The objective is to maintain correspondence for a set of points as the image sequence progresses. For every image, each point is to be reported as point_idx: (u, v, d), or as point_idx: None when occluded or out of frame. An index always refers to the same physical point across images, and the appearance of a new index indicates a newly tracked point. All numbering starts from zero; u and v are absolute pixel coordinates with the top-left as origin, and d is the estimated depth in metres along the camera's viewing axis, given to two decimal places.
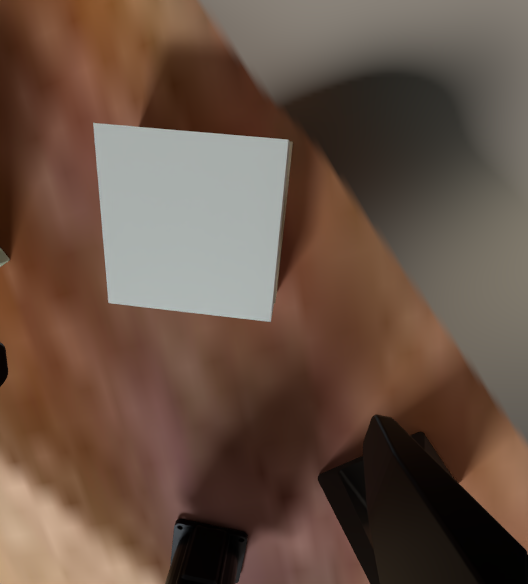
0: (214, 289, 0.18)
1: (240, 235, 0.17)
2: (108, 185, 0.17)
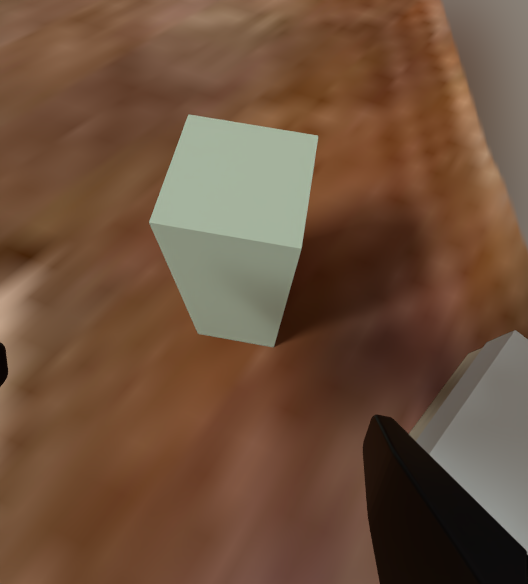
0: None
1: None
2: (499, 371, 0.18)
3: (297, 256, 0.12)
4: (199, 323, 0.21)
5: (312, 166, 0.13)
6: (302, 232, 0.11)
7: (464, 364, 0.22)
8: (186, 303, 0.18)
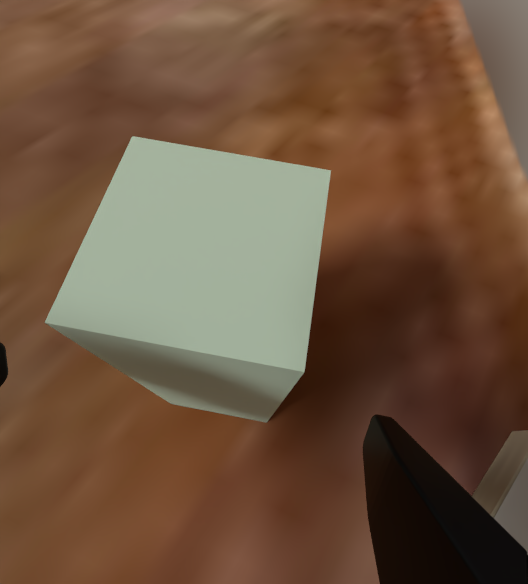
0: None
1: None
2: None
3: (297, 377, 0.07)
4: (169, 399, 0.16)
5: (322, 220, 0.08)
6: (306, 340, 0.07)
7: (510, 449, 0.17)
8: (146, 386, 0.13)
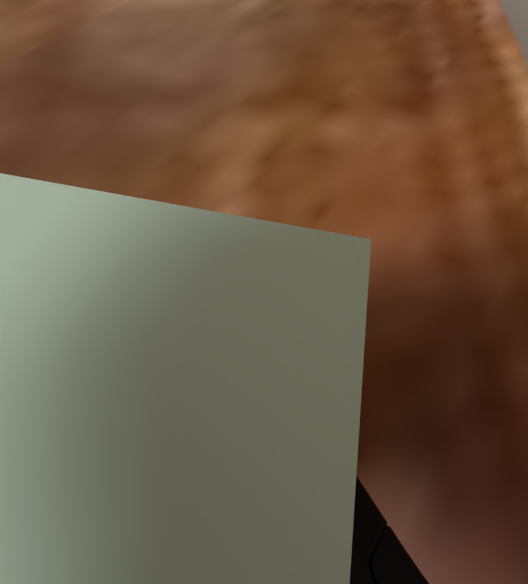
0: None
1: None
2: None
3: None
4: None
5: (355, 400, 0.03)
6: None
7: None
8: None
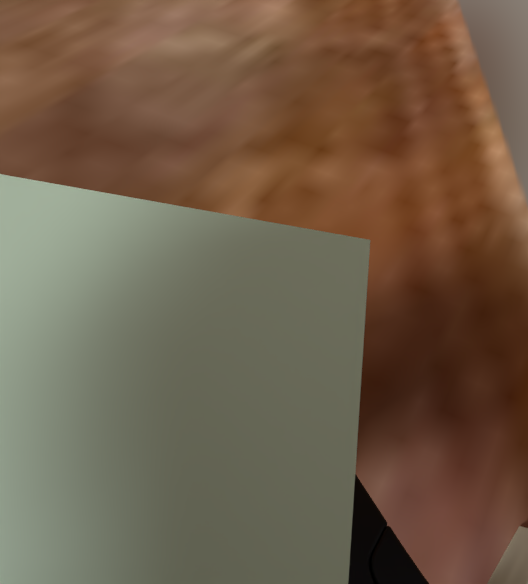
0: None
1: None
2: None
3: None
4: None
5: (354, 399, 0.03)
6: None
7: (517, 552, 0.16)
8: None
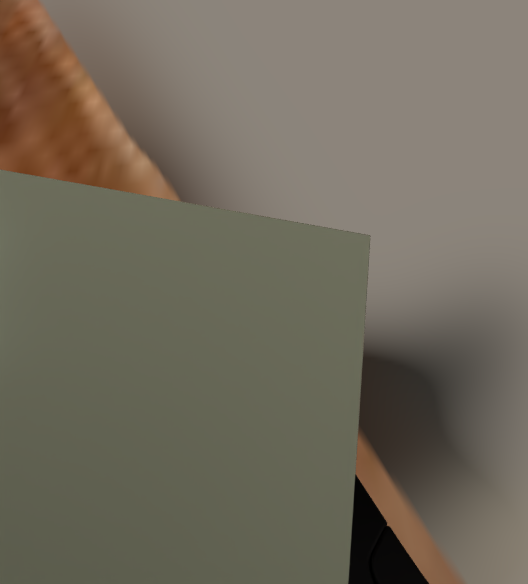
0: None
1: None
2: None
3: None
4: None
5: (354, 394, 0.03)
6: None
7: None
8: None
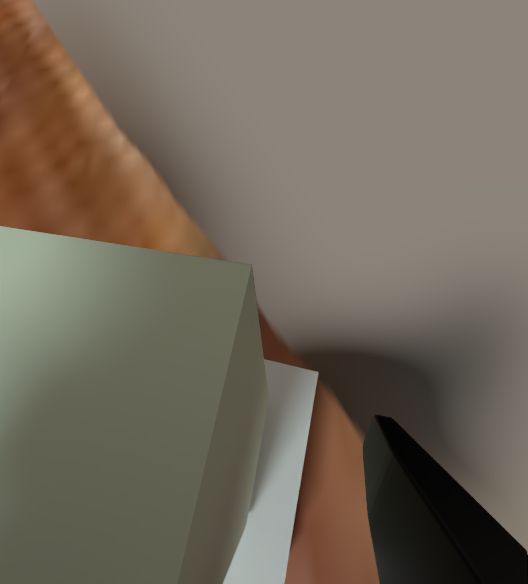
0: None
1: (259, 462, 0.15)
2: None
3: None
4: None
5: (221, 380, 0.04)
6: None
7: None
8: None
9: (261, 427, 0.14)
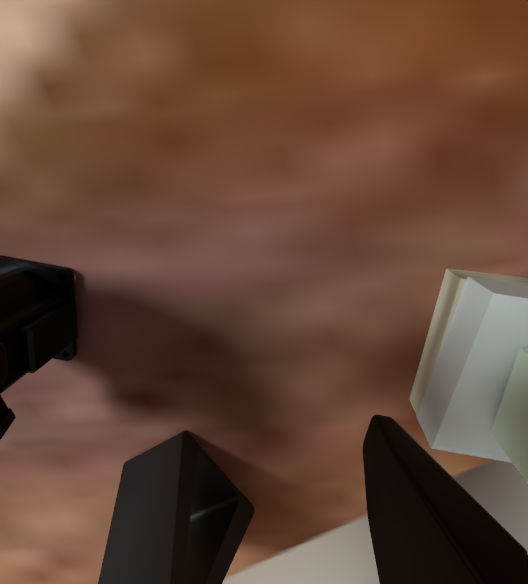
0: (479, 406, 0.18)
1: None
2: None
3: None
4: None
5: None
6: None
7: None
8: None
9: None
